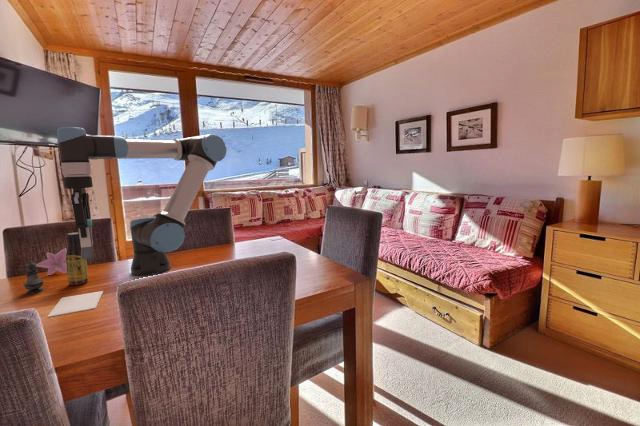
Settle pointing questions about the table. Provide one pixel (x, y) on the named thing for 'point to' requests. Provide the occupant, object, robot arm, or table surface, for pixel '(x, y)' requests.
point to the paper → (76, 303)
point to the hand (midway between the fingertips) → (87, 245)
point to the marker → (88, 251)
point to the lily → (55, 262)
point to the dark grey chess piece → (33, 279)
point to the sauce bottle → (75, 261)
